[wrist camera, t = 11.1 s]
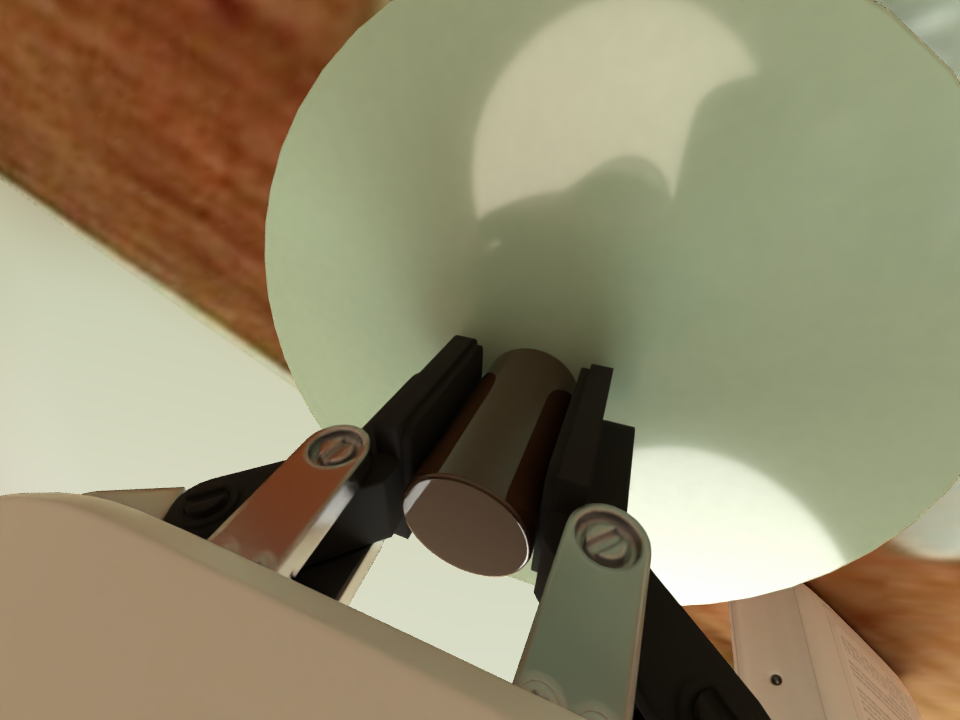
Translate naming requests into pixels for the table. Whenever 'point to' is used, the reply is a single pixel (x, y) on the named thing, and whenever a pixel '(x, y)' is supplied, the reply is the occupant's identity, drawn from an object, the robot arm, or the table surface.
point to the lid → (640, 267)
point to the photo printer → (811, 661)
